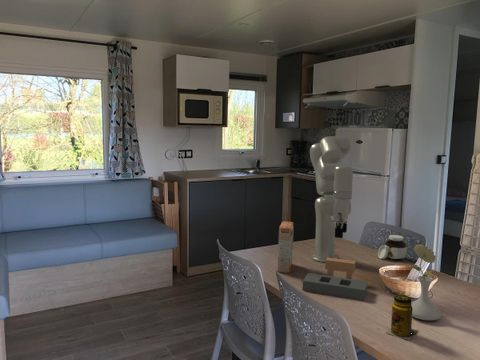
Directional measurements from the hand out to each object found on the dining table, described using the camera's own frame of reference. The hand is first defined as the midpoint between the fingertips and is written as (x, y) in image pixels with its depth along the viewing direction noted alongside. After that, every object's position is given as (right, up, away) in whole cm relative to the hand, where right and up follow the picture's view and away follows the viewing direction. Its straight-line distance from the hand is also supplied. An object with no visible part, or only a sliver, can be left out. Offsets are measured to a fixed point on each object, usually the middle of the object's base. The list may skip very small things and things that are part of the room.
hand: (340, 234), depth 175 cm
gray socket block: (-4, -21, -8) cm, 23 cm away
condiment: (+10, -26, -42) cm, 50 cm away
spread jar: (+34, -17, +34) cm, 51 cm away
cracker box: (-22, -18, +18) cm, 34 cm away
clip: (0, -20, +3) cm, 20 cm away
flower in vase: (+21, -25, -30) cm, 44 cm away
